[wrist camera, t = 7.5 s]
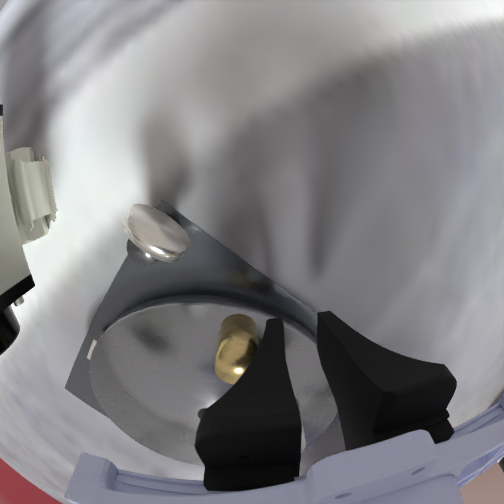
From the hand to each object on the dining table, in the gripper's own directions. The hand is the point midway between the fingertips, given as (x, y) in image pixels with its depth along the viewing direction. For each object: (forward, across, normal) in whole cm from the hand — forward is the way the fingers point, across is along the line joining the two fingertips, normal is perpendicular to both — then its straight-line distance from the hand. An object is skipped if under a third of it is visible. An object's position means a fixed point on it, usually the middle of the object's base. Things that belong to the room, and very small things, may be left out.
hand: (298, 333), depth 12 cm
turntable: (+3, +6, +7) cm, 9 cm away
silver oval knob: (+3, +6, -5) cm, 8 cm away
